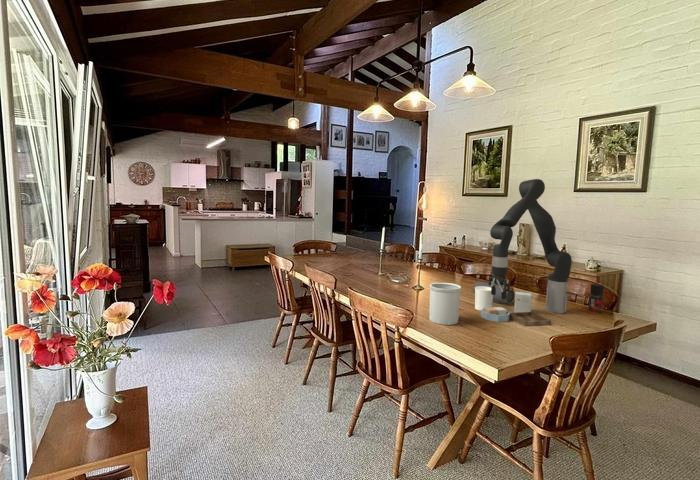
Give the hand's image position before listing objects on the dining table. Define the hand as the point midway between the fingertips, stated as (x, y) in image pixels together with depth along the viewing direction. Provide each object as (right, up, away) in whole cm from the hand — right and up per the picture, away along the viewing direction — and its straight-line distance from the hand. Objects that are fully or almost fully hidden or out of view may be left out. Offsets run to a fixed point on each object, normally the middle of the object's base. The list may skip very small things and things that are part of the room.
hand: (498, 296), depth 190 cm
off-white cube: (+1, -10, 0) cm, 10 cm away
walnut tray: (+13, -12, -4) cm, 18 cm away
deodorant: (+60, -11, +17) cm, 63 cm away
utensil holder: (-29, -11, -5) cm, 32 cm away
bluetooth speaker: (+10, -8, +33) cm, 35 cm away
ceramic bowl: (-2, -11, 0) cm, 11 cm away
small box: (+17, -10, +11) cm, 23 cm away
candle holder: (-3, -9, +14) cm, 17 cm away
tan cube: (-4, -10, -1) cm, 11 cm away
